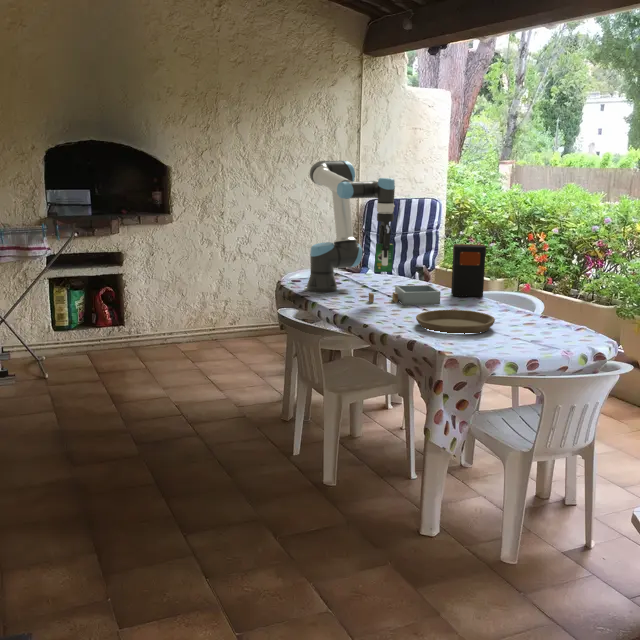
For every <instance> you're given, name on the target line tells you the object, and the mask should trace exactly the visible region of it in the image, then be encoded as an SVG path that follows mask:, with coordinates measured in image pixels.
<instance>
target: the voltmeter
mask: <svg viewBox="0 0 640 640" xmlns="http://www.w3.org/2000/svg"><path fill="white" fill-rule="evenodd" d="M452 247H453V249H452V270H451V287H450V288H451V292H450V293H451V295H452V296H453V297H466V296H468V298H469V297H470V298H474V297H478V298H482V297H484V285H485V267H486V266H485V265H486V257H487V255H486V254H487V246H486V245H485V244H470V243H469V244H468V243H467V244H464V243H454V244H453V246H452Z"/></svg>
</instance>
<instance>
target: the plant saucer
mask: <svg viewBox="0 0 640 640" xmlns="http://www.w3.org/2000/svg"><path fill="white" fill-rule="evenodd" d="M415 319H416V322H417V323H418V324H419V325H420V326H421V328H422V327H423V328H426V329H429V330H434V331H440V332H447V333H464V334H465V333H480V332H483V333H485V331H486V332H487V331H489V329H490V328H491V327H492V326H493V325H494V324H495V322H496V321H495V320H496V319H495V317H494V316H492V315H491V314H488V313H484V312H480V311H473V310H463V309H438V310H437V309H436V310H429V311H424V312H420V313H418V314H417V315H416V316H415ZM423 328H422V329H423ZM480 334H481V333H480Z"/></svg>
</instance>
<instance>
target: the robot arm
mask: <svg viewBox="0 0 640 640" xmlns="http://www.w3.org/2000/svg"><path fill="white" fill-rule="evenodd" d="M309 169H310V170H309V178H310V181H312V182H313V183H314V184H316V185H317V186H324V187H327V188H328V190H330V191H331V194H332V195H331V196H332V203H333V204H332V205H333V213H334V214H333V215H334V225H335V238H336V239H335V240H334V241H333V242H329V241H328V242H319V243H315V244H312V246H311V247H310V253H309V254H310V257H309V258H310V259H309V260H310V273H309V278H308V281H307V285H306V290H307V291H309V292H313V293H314V292H315V293H328V292H329V293H331V292H335V291H337V290H338V284H337V282H336V279H335V276H334V275H335V271H334V270H335V269H341V268H342V269H344V268H354V267H358V266H359V265H360V263H361V261H362V258H363V248H362V245H361V244H360V243H358V241H357V239H356V238H355V237H354V231H353V219H352V209H351V208H352V207H351V199H377V205H376V208H377V209H376V212H377V213H376V221H377V222H380V225H379V226H378V231H379V235H378V237H379V238H378V240H379V241H378V242H379V243H378V244H383V249H381V251H382V265H388V250H389V249H390V244H391V231H392V229H391V225H390V222H391V223H392V222H394V219H395V217H394V214H395V213H394V209H395V207H396V205H395V191H396V189H395V188H396V186H395V185H396V183H395V182H396V181H395V179H394V178H393V177H380V178H378V179H377V181H376V180H369V181H355V178H356V172H355V171H356V170H355V168H354V166H353V164H352V163H351V162H350V161H347V160H343V159H341V160H320V161H317V162H315V163H314V164H312V165H311V167H310V168H309Z"/></svg>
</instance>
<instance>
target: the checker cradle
mask: <svg viewBox="0 0 640 640" xmlns="http://www.w3.org/2000/svg"><path fill="white" fill-rule="evenodd" d="M374 301H375V295H374V293H373V292H368V303H370V302H374ZM392 302H393V303H398V302H399V301H398V293H396V292H395V291H394V292H392Z"/></svg>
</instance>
